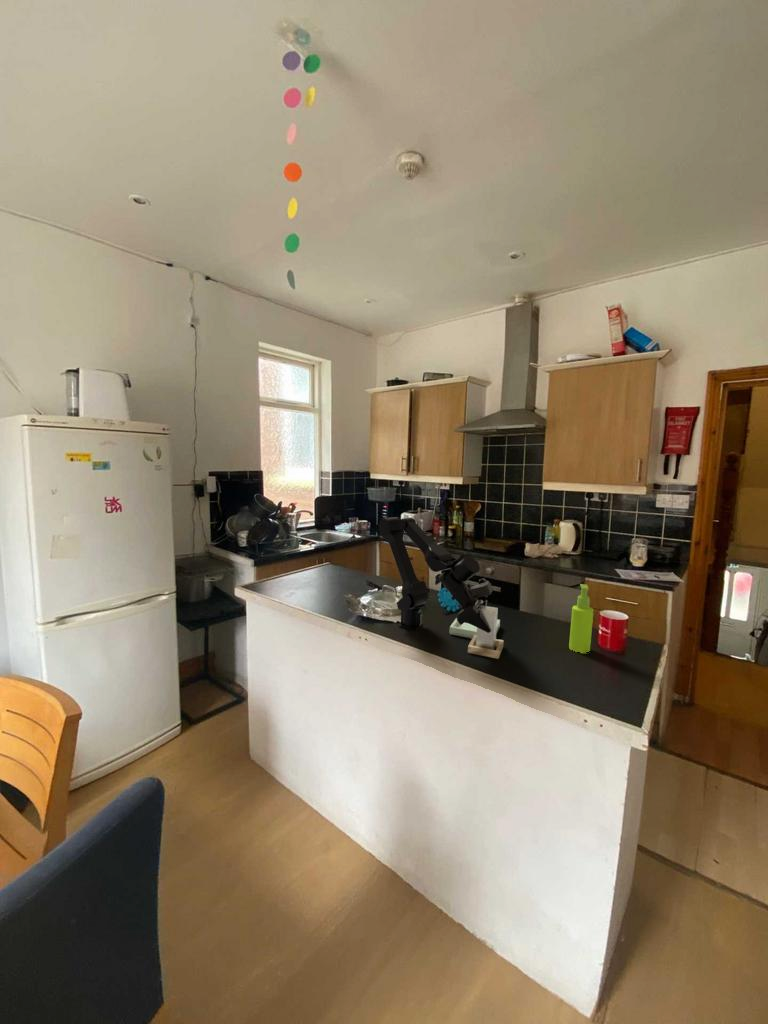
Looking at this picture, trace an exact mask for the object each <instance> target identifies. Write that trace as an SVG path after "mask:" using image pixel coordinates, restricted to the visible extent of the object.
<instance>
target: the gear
mask: <svg viewBox="0 0 768 1024" xmlns="http://www.w3.org/2000/svg"><path fill="white" fill-rule="evenodd" d="M437 597H439V598H438V602H439V603H441V604H440V607H441V608H445V607H446V606H447V608H446V610H447V611H448V612H449V611H451V612H453V613H455V612H456V611H459V610H460V607H461V606H460V605H459V604H458V602H457V601H456V600H455V599H454V600H452V599H451V597H452V595H451V594H450V593H449V592H448V590H447V589H446V588H445V587H442V588H441V589H439V590H438V594H437Z"/></svg>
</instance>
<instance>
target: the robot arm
mask: <svg viewBox="0 0 768 1024" xmlns="http://www.w3.org/2000/svg"><path fill="white" fill-rule="evenodd" d="M378 531H379V533H380V534H381V537H382V539H384V540H385V542H387V543H388V544H389V546H390V550H391V553H392V556H393V559H394V561H395V565H396V566H397V569H398V573H399V575H400V578H401V580H402V586H401V594H402V595H401V596H402V597H401V598H400V599H399V600H398V601H397V602H396V605H397V609H398V610H400V623H399V624H398V627H400V628H405V629H410V630H415V631H416V630H418V629H419V628H420V627H421V626H422V624H423V615H424V614H423V612H422V608H425V606H426V603H428V599H429V598H430V597H429V589H428V588H427V585H426V581H424V580H422V581H420V579H418V578H417V575H416V572H415V569H414V567H413V564H412V561H411V558H410V555H409V552H408V550H407V547H406V545H405V542H404V535H405V534H406V535H407V537H409V539H410V540H411V541H412V543H413V544H414V545H416V547H417V548H418V549H419V550H420V552H421V553H422V554H423V555H424V561H425V564H426V565H427V566H428V568H429V570H431V572H434V573H437V574H436V575H435V577H434V578H435V580H434V581H435V582H434V585H435V586H436V585H439V584H440V583H441V584H442V586H444V587H443V588H446V589H447V590H446V591H447V592H449V593H450V594H451V595H452V597H451V599H452V600H454V599H455V600H456V601H457V602H458V604H459V605H460V606H459V610H460V611H459V612H458V614H456V618H457V621H458V622H459V623H460V625H462V624H463V623H468V624H471V625H473V626H475V627H477V628H479V629H481V630H483V631H485V632H487V633H489V632H491V629H490V628H489V626H488V624H487V623H486V621H485V620H484V618H483V617H482V615H481V614H482V608H481V609H480V610H479V608H480V606H481V605H483V606H488V605H487V604H488V599H487V598H488V596H490V595H492V592H493V589H492V583H491V582H490V581H489V580H487V579H486V578H481V579H479V580H478V584H477V583H476V585H472V584H471V583H466V582H467V581H469V579H471V578H473V577H474V576H475V575H476V574H478V573H479V572H480V570H481V567H480V563H479V562H478V561H477V559H475V558H474V557H472V556H470V555H469V554H468V552H466V553H462V554H460V556H459V557H457V558H456V557H454V555H452V554H451V552H449V551H448V550H447V549H445V548H444V547H442V546H440V545H438V544H436V542H434V541H433V540H432V538H430V536H429V535H428V534H427V533H426V532H425V531H424V530H423V529H422V528H421V527H420V526H419V524H418V523H417V522H416V519H415V518H413V517H405V518H404V517H402V518H399V517H398V516H395V517H383V518H381V519H380V521H379V523H378ZM449 569H451V570H449ZM442 571H444V572H442ZM438 572H442V573H438ZM484 599H485V600H484ZM483 600H484V601H483Z"/></svg>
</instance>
